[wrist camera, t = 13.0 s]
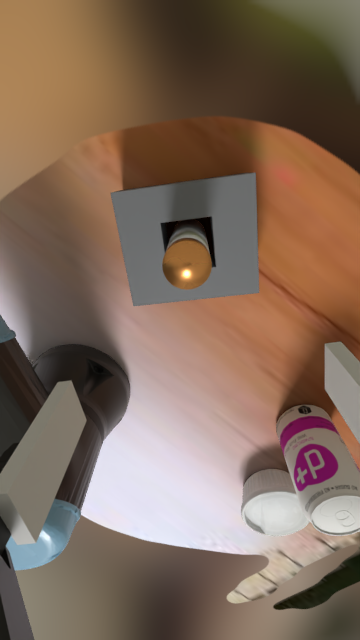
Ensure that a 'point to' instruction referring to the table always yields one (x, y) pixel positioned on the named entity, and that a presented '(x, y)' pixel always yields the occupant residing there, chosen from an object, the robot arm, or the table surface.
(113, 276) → the table surface
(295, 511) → the ramekin
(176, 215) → the block
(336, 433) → the supplement can
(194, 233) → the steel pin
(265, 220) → the table surface
